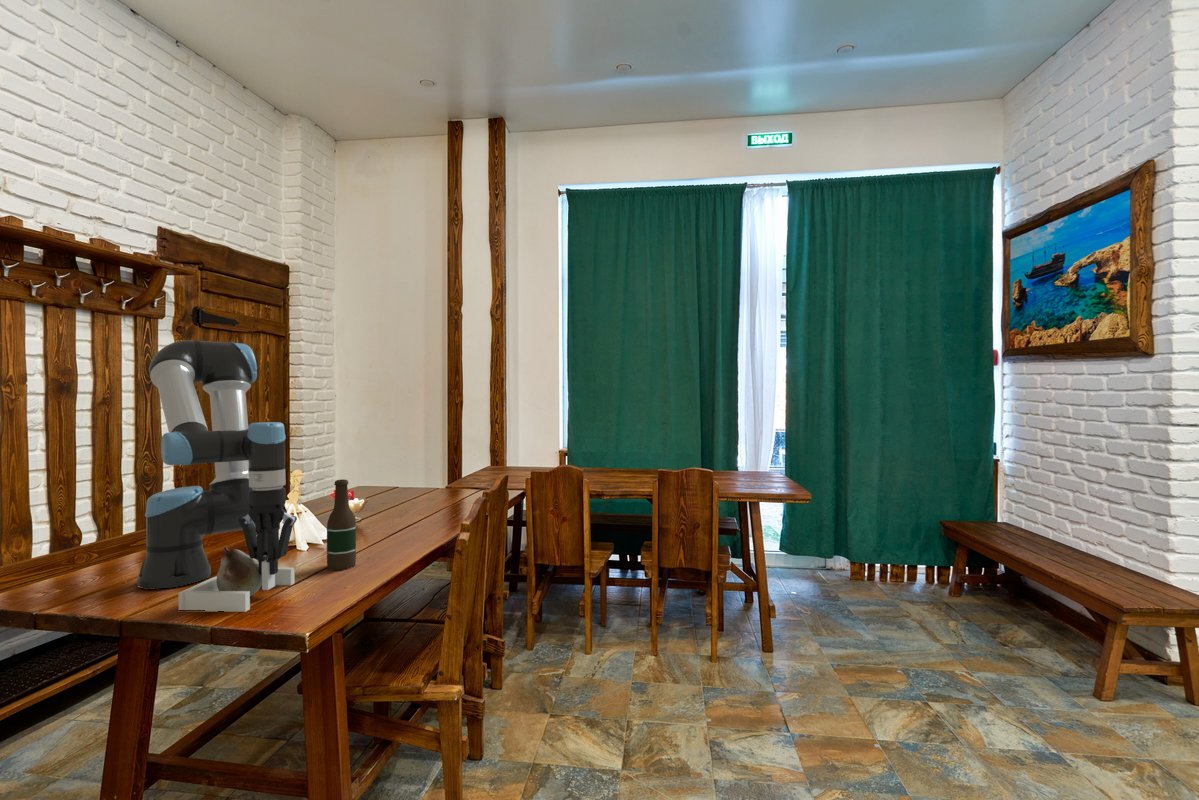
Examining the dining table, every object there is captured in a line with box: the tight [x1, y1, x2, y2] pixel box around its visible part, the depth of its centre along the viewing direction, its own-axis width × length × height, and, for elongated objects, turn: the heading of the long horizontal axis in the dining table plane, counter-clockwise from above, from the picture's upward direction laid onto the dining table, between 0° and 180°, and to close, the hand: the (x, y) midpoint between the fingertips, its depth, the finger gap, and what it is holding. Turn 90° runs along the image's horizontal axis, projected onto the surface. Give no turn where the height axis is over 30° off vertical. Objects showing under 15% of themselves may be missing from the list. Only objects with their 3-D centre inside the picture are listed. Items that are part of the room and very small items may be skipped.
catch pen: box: [178, 566, 295, 613], centre depth 135 cm, size 15×19×4 cm
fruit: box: [216, 546, 262, 597], centre depth 134 cm, size 10×9×12 cm
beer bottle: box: [326, 479, 357, 571], centre depth 158 cm, size 8×8×24 cm
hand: (268, 587), depth 134 cm, fingers closed
